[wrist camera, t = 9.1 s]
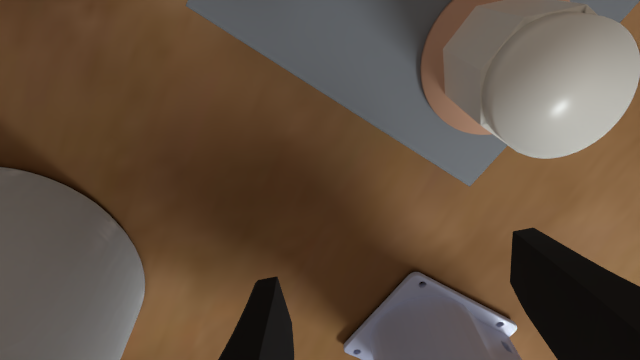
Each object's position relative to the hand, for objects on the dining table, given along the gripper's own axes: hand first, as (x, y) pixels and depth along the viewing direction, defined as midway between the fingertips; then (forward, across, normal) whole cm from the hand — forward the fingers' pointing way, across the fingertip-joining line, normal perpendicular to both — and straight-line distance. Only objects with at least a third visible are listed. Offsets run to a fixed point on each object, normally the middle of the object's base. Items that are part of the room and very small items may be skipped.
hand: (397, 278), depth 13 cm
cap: (+9, -7, -3) cm, 12 cm away
